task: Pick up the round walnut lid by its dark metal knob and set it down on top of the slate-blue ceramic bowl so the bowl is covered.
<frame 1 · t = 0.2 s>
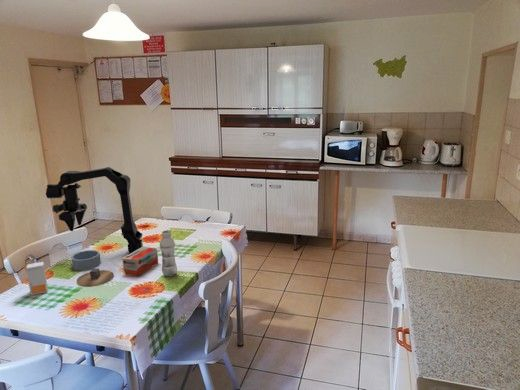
hand: (75, 228, 189), 14 cm above the table, fingers open, 9 cm apart
plastic bottle: (169, 275, 169), on the table
walnut lid: (95, 279, 167), on the table
skincare box: (39, 292, 156), on the table
red printed carton: (141, 269, 176), on the table
slate bowl: (86, 264, 181), on the table
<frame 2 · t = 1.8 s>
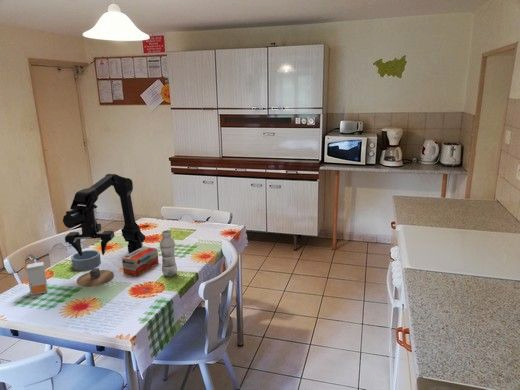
hand: (92, 255, 164), 11 cm above the table, fingers open, 9 cm apart
nothing on the table moved.
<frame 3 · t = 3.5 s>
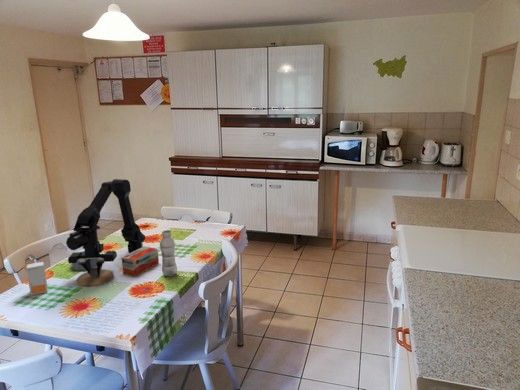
hand: (95, 275, 166), 2 cm above the table, fingers closed on walnut lid, 3 cm apart
walnut lid: (95, 278, 167), on the table, touching gripper
everything else where it was.
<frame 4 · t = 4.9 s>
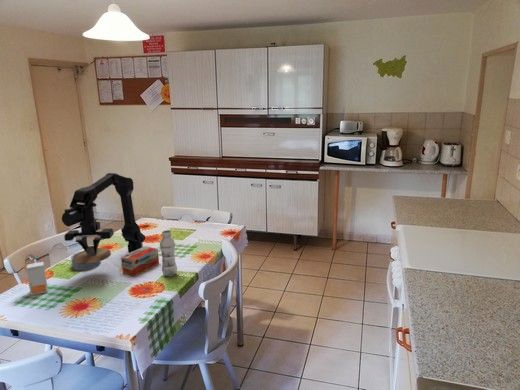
hand: (92, 253, 165), 11 cm above the table, fingers closed on walnut lid, 3 cm apart
walnut lid: (92, 256, 166), point 10 cm above the table, touching gripper
everything else where it was.
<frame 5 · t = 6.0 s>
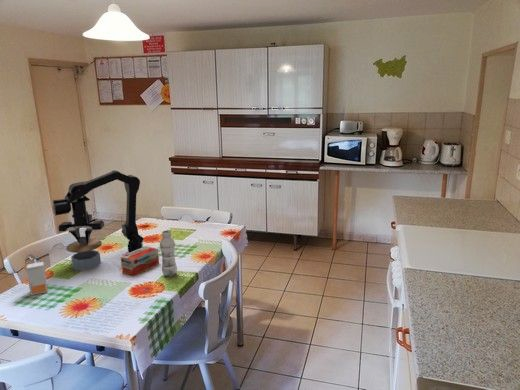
hand: (84, 243, 178), 11 cm above the table, fingers closed on walnut lid, 3 cm apart
walnut lid: (84, 246, 178), point 9 cm above the table, touching gripper
when the fingers open (8 cm above the table, at t = 6.7 s): walnut lid drops 1 cm, resting on slate bowl.
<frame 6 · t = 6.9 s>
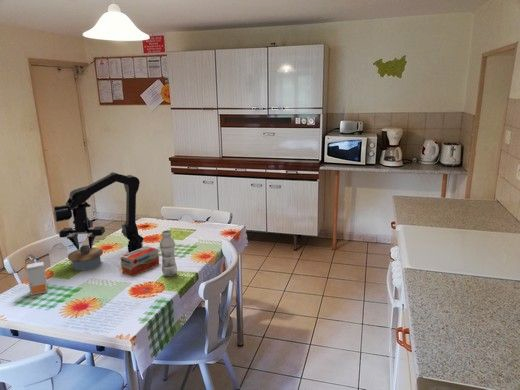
hand: (84, 249, 179), 8 cm above the table, fingers open, 5 cm apart
walnut lid: (85, 255, 179), point 5 cm above the table, touching slate bowl
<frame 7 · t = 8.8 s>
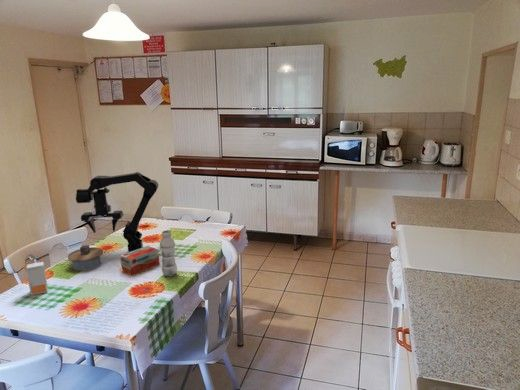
hand: (104, 232, 190), 12 cm above the table, fingers open, 9 cm apart
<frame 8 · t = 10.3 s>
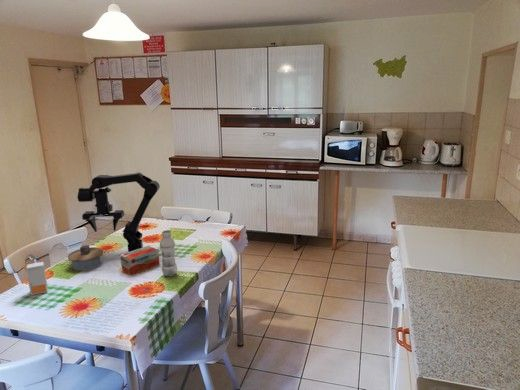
hand: (105, 231, 191), 12 cm above the table, fingers open, 9 cm apart
at the end: walnut lid 0.1 cm off-centre on the slate bowl, point 5.0 cm above the slate bowl's base; walnut lid tilted 0°; the gripper is holding nothing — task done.
